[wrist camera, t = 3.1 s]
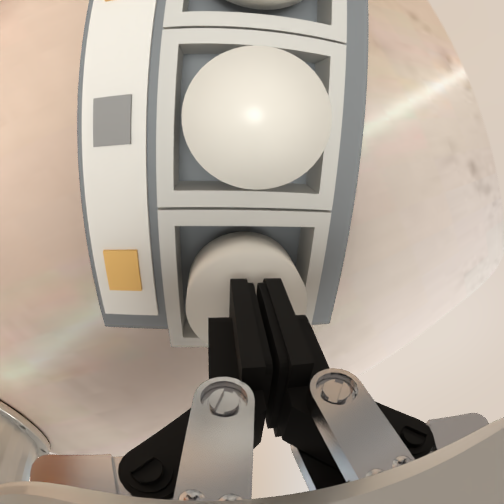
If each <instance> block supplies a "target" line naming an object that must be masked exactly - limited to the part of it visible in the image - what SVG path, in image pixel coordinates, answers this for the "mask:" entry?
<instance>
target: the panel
mask: <svg viewBox="0 0 504 504" xmlns="http://www.w3.org/2000/svg"><path fill="white" fill-rule="evenodd" d="M253 45H257V46H269V47H274V48H278V49H281V50H284V51H286V52H289V53H291V54H293V55H295V56H296V57H298V58H300V59H301V60H302V61H304V62H305V63H306V64H307V65H309V67H310V68H311V69H312V70H313V71H314V72H315V73H316V74H317V76H318V77H319V78H320V80H321V81H322V83H323V85H324V87H325V89H326V91H327V94H328V96H329V100H330V104H331V111H332V125H331V132H330V136H329V139H328V142H327V145H326V147H325V149H324V151H323V153H322V154H321V156H320V158H319V159H318V160H317V161H316V163H315V164H314V165H313V166H312V167H311V168H310V169H309V170H308V171H307V172H306V173H304V174H303V175H302V176H300V177H299V178H297V179H295V180H294V181H292V182H290V183H287V184H285V185H282V186H279V187H275V188H270V189H260V190H253V189H244V188H239V187H235V186H232V185H229V184H227V183H225V182H223V181H221V180H219V179H217V178H215V177H214V176H212V175H211V174H210V173H208V172H207V171H206V170H205V169H204V168H203V167H202V166H201V165H200V164H199V163H198V162H197V160H196V159H195V158H194V156H193V155H192V153H191V151H190V149H189V147H188V145H187V143H186V140H185V137H184V134H183V128H182V116H181V114H182V105H183V101H184V97H185V94H186V91H187V89H188V87H189V85H190V83H191V81H192V80H193V78H194V77H195V75H196V74H197V73H198V72H199V70H200V69H201V68H202V67H203V66H204V65H205V64H207V63H208V62H209V61H210V60H212V59H213V58H215V57H216V56H218V55H220V54H222V53H224V52H226V51H229V50H231V49H234V48H239V47H243V46H253ZM367 69H368V0H302V1H301V2H299V3H297V4H295V5H292V6H289V7H285V8H281V9H273V10H260V9H251V8H246V7H242V6H239V5H236V4H233V3H231V2H229V1H227V0H89V5H88V10H87V16H86V22H85V28H84V35H83V42H82V51H81V60H80V71H79V86H78V113H77V136H78V164H79V179H80V191H81V201H82V210H83V218H84V225H85V232H86V239H87V245H88V251H89V257H90V262H91V268H92V273H93V278H94V282H95V287H96V291H97V296H98V300H99V304H100V308H101V312H102V316H103V320H104V324H105V326H108V327H128V328H156V329H168V330H169V337H170V344H171V347H208V344H206V343H205V342H204V341H202V340H201V339H200V338H199V337H198V336H197V335H196V334H195V333H194V331H193V330H192V328H191V326H190V324H189V322H188V319H187V315H186V297H187V288H188V279H189V273H190V268H191V265H192V263H193V261H194V259H195V257H196V256H197V254H198V253H199V252H200V250H201V249H202V248H203V247H204V246H206V245H207V244H208V243H209V242H211V241H212V240H214V239H216V238H218V237H220V236H222V235H226V234H229V233H234V232H244V231H245V232H255V233H260V234H263V235H265V236H268V237H270V238H272V239H273V240H275V241H276V242H278V243H279V244H280V245H281V246H282V247H283V248H284V249H285V250H286V252H287V253H288V255H289V256H290V258H291V260H292V262H293V264H294V266H295V268H296V269H297V271H298V273H299V275H300V277H301V279H302V281H303V283H304V285H305V288H306V292H307V308H306V312H305V315H306V317H307V318H308V320H309V323H310V325H316V324H329V323H330V319H331V315H332V311H333V307H334V303H335V298H336V294H337V290H338V285H339V281H340V276H341V271H342V266H343V262H344V257H345V251H346V246H347V241H348V236H349V230H350V224H351V218H352V212H353V206H354V200H355V193H356V186H357V179H358V172H359V164H360V156H361V147H362V138H363V128H364V116H365V104H366V89H367Z"/></svg>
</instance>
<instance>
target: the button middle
mask: <svg viewBox="0 0 504 504" xmlns="http://www.w3.org/2000/svg"><path fill="white" fill-rule="evenodd" d="M181 116H182V128H183V134H184V137H185V140H186V143H187V145H188V147H189V149H190V151H191V153H192V155H193V156H194V158H195V159H196V160H197V162H198V163H199V164H200V165H201V166H202V167H203V168H204V169H205V170H206V171H207V172H208V173H210V174H211V175H212V176H214V177H215V178H217V179H219V180H221V181H223V182H225V183H227V184H229V185H232V186H235V187H239V188H244V189H253V190H260V189H270V188H275V187H279V186H282V185H285V184H287V183H290V182H292V181H294V180H295V179H297V178H299V177H300V176H302V175H303V174H304V173H306V172H307V171H308V170H309V169H310V168H311V167H312V166H313V165H314V164H315V163H316V161H317V160H318V159H319V158H320V156H321V154H322V153H323V151H324V149H325V147H326V145H327V142H328V139H329V136H330V132H331V125H332V111H331V104H330V100H329V96H328V94H327V91H326V89H325V87H324V85H323V83H322V81H321V80H320V78H319V77H318V76H317V74H316V73H315V72H314V71H313V70H312V69H311V68H310V67H309V65H307V64H306V63H305V62H304V61H302V60H301V59H300V58H298V57H296V56H295V55H293V54H291V53H289V52H286V51H284V50H281V49H278V48H274V47H269V46H257V45H253V46H243V47H239V48H234V49H231V50H229V51H226V52H224V53H222V54H220V55H218V56H216V57H215V58H213V59H212V60H210V61H209V62H208V63H207V64H205V65H204V66H203V67H202V68H201V69H200V70H199V72H198V73H197V74H196V75H195V77H194V78H193V80H192V81H191V83H190V85H189V87H188V89H187V91H186V94H185V97H184V101H183V105H182V114H181Z"/></svg>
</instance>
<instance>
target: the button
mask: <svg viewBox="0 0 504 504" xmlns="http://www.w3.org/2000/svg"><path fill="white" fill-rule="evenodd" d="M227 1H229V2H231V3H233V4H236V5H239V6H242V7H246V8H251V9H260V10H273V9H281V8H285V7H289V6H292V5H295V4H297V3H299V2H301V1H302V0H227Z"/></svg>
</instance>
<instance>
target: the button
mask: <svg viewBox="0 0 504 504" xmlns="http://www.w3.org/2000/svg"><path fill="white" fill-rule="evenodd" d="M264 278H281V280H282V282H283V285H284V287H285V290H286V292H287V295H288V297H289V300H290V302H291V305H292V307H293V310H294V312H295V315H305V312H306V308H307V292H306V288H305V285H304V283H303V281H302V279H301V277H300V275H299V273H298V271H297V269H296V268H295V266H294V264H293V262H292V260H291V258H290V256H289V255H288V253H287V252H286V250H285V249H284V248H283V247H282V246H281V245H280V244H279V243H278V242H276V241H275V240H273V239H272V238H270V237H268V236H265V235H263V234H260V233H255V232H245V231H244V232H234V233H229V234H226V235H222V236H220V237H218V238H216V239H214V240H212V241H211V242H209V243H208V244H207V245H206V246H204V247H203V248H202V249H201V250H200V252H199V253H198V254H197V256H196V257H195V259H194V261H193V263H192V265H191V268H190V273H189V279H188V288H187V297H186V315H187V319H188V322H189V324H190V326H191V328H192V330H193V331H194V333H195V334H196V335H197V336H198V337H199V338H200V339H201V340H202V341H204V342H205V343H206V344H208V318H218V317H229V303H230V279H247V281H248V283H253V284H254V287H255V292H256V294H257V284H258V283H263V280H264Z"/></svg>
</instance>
